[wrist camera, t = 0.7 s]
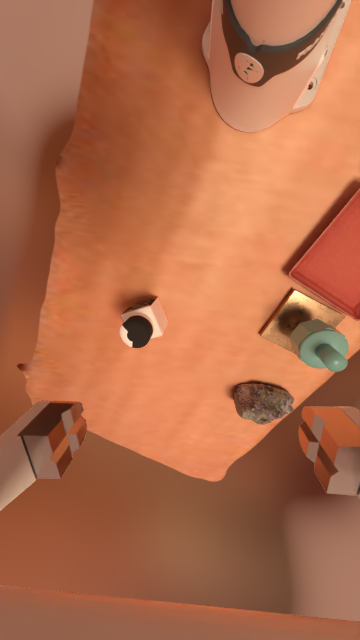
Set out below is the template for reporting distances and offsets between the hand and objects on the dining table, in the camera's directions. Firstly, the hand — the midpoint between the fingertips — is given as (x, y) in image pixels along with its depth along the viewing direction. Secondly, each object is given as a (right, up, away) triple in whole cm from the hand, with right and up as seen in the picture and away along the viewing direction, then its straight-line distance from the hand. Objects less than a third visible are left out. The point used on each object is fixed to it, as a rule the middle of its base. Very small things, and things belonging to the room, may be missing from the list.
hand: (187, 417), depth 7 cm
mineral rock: (+21, -16, +47) cm, 54 cm away
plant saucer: (+33, +16, +32) cm, 48 cm away
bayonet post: (+26, +3, +38) cm, 46 cm away
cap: (+25, 0, +32) cm, 41 cm away
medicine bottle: (-7, +5, +42) cm, 43 cm away
